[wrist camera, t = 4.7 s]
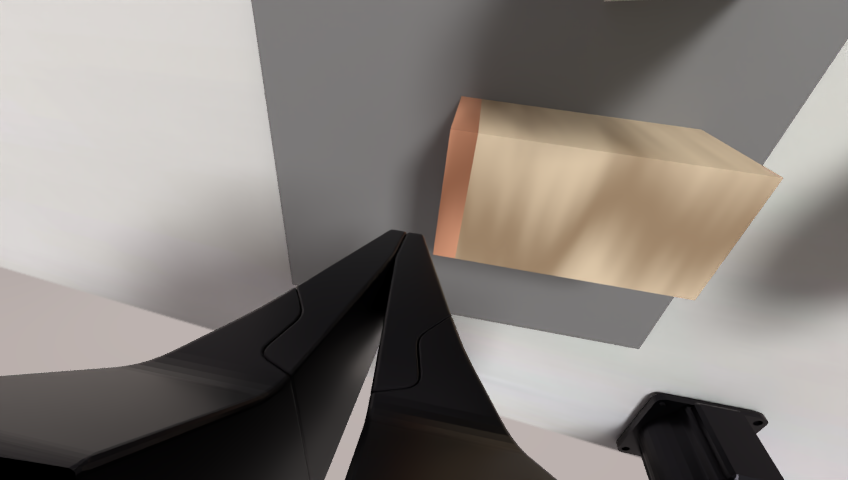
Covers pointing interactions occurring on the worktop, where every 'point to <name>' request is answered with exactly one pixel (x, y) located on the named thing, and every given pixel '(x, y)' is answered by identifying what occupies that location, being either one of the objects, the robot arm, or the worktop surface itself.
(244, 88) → the worktop surface
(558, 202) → the beech block
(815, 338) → the worktop surface
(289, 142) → the mat
